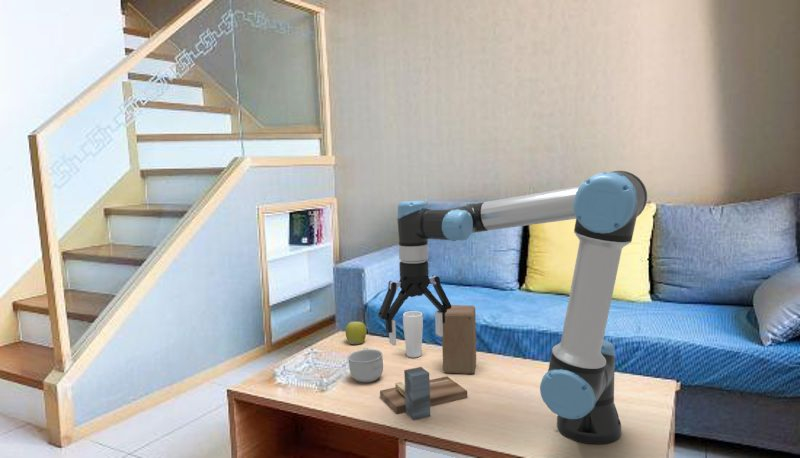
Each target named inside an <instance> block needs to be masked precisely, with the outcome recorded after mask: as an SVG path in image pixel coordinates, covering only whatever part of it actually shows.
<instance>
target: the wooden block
mask: <svg viewBox="0 0 800 458" xmlns="http://www.w3.org/2000/svg"><path fill="white" fill-rule="evenodd" d="M476 323H477V321H476V307H475V306H474V305H469V304H468V305H467V304H466V305H462V304H461V305H460V304H459V305H458V304H457V305H456V304H451V308H450V309H447V312H446V313H445V323H443V337H441V340H442V341H441V345H442V346H441V347H442V371H443V372H444V373H446V374H462V375H463V374H466V375H472V374H474V373H475V369H476V365H477V332H476V331H477V329H476V328H477V325H476Z"/></svg>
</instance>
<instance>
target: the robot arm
mask: <svg viewBox="0 0 800 458" xmlns="http://www.w3.org/2000/svg"><path fill="white" fill-rule="evenodd" d="M647 202H648V191H647V189H646V186H645V184H644V182H643V181H642V180H641V178H640V177H638V176H637V175H635V174H634V173H632V172H629V171H625V170H613V171H609V172H607V171H604V172H600V173H597V174H594V175H592V176H590V177H589V178H587V179H586V180H584V181H582V182H581V184H580V185H578V186H572V187H566V188H560V189H555V190H554V189H553V190H548V191H542V192H536V193H531V194H526V195H525V194H524V195H518V196H512V197H507V198H501V199H495V200H490V201H484V202H478V203H469V204H466V205H461V206H457V207H451V208H446V209H429V208H428V206H427V203H426V201H425V200H405V201H404V200H403V201H400V202H399V203H398V205H397V218H396V220H397V227H398V228H397V229H398V230H397V231H398V259H399V278H400V279H399V280H398V281H392V280H390V281H388V286H387V287H388V288H387V292H386V294H385V297H384V299H383V301H382V304H381V307H380V308H379V311H378V314H377V317H378V318H380V319H381V320H384V321H385V331H386V332H387V333H388V336H389V337H388V338H389V340H388V341H389V344H390V345H392V346H397V330H396V320H395V319H394V317H396V315H397V313H398V312H399V310H400V309H401V307H402V306H403V304H404V303H405V301H406V300H408V299H409V297H410V298H414V297H416V296H418V297H419V296H420V297H421V296H423V295H424V296H425V297H426V298H427V300H428V301H430V303H431V304H432V305H433V307H435V308H436V309H437V310H435V311H434V321H435V324H434V325H435V336H438V337H440V338H442V337H443V323H445V313H446V312H447V309H450V308H451V305H452V304H451V302H450V300H449V299H448V297H447V294H446V293H445V291H444V288H443V286H442V284H441V277H440V276H437V275H436V274H435V275H434V274H433V275H431V276H430V277H429V274H430V272H429V270H430V269H429V261H428V259H429V247H428V246H429V245H428V240H431V239H432V240H440V241H441V240H443V241H452V242H456V241H466V240H468V239H469V238H470V236H471V235H472V234H474V233H481V232H488V231H494V230H495V231H496V230H501V229H510V228H517V227H518V228H519V227H525V226H526V227H527V226H533V225H538V224H539V225H540V224H546V223H554V222H560V221H561V222H563V221H569V220H570V221H571V220H575V224H574V229H573V233H574V234H575V236H576V237H577V239H578V241H579V243H578V248H577V253H576V259H575V264H574V270H573V274H572V275H573V276H572V281H571V285H570V289H569V290H570V291H569V296H568V297H569V298H568V300H567V301H568V302H567V307H566V312H565V313H566V314H565V317H564V323H563V324H564V325H563V328H562V333H561V338H560V339H561V340H560V342H559V343H557V344H555V345H554V346H553V347H552V349H551V354H550V360H549V364H548V370H547V372H546V373H545V374H544V375H543V376H542V379H541V382H540V385H539V391H540V397H541V398H542V401H543V403H545V405H546V406H547V408H548V409H549V410H550V411H551V412H552V413H554V414H556V415H557V417H556V428H557V430H558V432H559V433H560V434H562V435H563V436H564V437H566V438H568V439H570V440H572V441H575V442H579V443H583V444H589V445H590V444H591V445H606V444H610V443H613V442H616V441H617V440H619V439H620V437H621V435H622V423H621V420H620V418H619V412H618V410H617V407H616V404H615V368H616V367H615V366H616V363H615V362H616V361H615V359H616V352H615V346H614V344H613V343H612V342H611V341H608V340H606V339H605V334H606V328H607V322H608V318H609V315H610V314H609V313H610V308H611V304H612V299H613V295H614V294H613V293H614V289H615V284H616V278H617V274H618V269H619V266H620V265H619V264H620V261H621V260H620V259H621V254H622V251H623V249H624V248H625V247H626V246H628V245H629V244H631V243H632V241H633V235H634V231H635V227H636V222H637V218H638V217H639V216H640V215H641V214H642V213H643V211H644V210H645V207H646V206H647ZM430 284H431V285H432V287H433V288H434V290H435V292H436V294H437V296H438V298H439V299H437V298H436V296H435V295H434V294H433V293H432V292H431V290H430V289H429V288H428V286H429V285H430ZM399 288H400V291H399V292H398V295H397V296H396V293H397V291H398V289H399ZM395 296H396V299H395V300H394V298H395ZM439 300H440V301H439Z"/></svg>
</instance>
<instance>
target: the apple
mask: <svg viewBox="0 0 800 458" xmlns="http://www.w3.org/2000/svg"><path fill="white" fill-rule="evenodd" d="M352 320H353V321H349V323H347V325H346V327H345V336H346V340H347V342H348V343H349V344H350V345H359V344H363V343H364V342H365V340H366V338H367V337H366V336H367V326H366V325H365V323H364V322H363V321H356V320H355V319H354V318H353V317H352Z"/></svg>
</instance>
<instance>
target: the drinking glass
mask: <svg viewBox="0 0 800 458" xmlns="http://www.w3.org/2000/svg"><path fill="white" fill-rule="evenodd" d="M423 323H424V319H423V312H421V311H418V310H410V311H405V312H404V313H403V314H402V326H403V327H402V328H403V334H404V335H403V336H404V341H405V342H404V343H405V351H406V352H405V354H406V356H407V357H408V358H410V359H411V358H413V359H415V358H419V357H421V356H422V355H423V354H422V353H423V352H422V348H423V347H422V346H423V330H424V329H423V326H424V325H423Z"/></svg>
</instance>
